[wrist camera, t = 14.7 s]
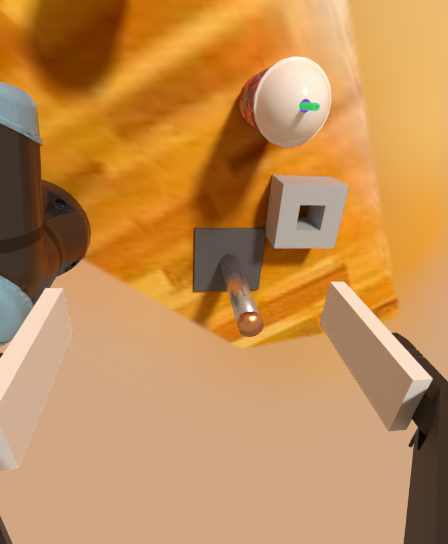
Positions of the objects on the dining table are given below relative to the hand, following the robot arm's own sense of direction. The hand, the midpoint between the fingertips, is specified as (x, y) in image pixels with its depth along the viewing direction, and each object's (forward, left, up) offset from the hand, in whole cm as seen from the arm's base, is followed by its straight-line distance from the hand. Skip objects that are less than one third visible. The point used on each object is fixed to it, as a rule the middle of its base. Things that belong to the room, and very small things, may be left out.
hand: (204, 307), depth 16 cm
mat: (+8, -16, -37) cm, 41 cm away
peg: (+8, -16, -36) cm, 40 cm away
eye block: (+19, -6, -37) cm, 42 cm away
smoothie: (+11, +9, -37) cm, 40 cm away
